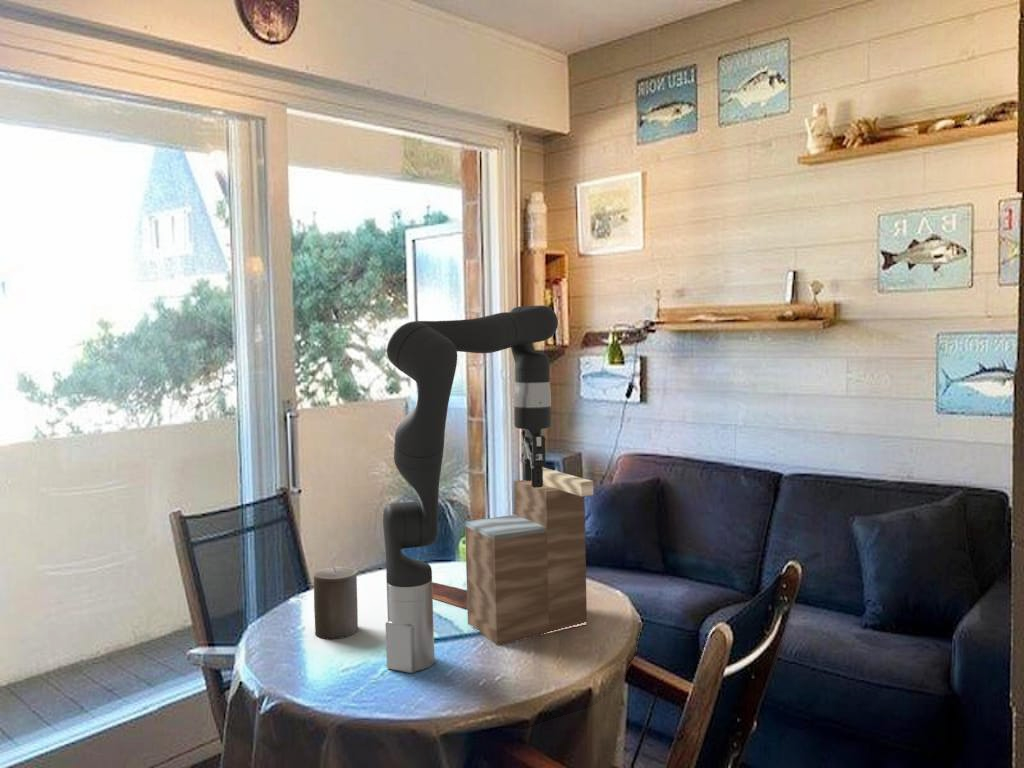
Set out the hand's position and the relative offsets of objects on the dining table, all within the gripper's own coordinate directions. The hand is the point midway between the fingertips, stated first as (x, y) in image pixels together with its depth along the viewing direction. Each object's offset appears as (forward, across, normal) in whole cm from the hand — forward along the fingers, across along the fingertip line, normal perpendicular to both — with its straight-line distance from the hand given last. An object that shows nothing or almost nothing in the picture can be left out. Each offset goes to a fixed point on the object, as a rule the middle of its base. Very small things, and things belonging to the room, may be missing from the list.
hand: (533, 483), depth 165 cm
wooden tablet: (+37, +44, +14) cm, 59 cm away
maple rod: (+4, +16, -9) cm, 19 cm away
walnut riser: (+36, +20, -1) cm, 41 cm away
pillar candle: (+37, +24, +42) cm, 61 cm away
